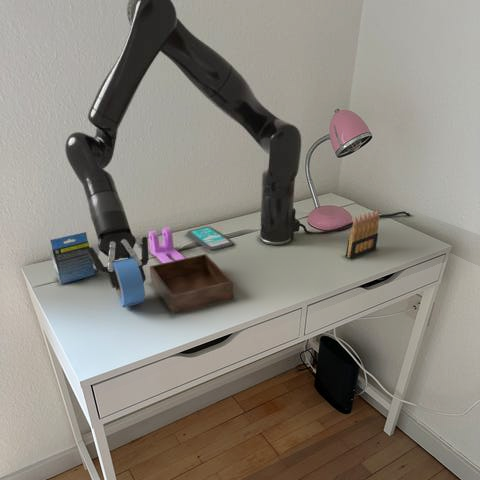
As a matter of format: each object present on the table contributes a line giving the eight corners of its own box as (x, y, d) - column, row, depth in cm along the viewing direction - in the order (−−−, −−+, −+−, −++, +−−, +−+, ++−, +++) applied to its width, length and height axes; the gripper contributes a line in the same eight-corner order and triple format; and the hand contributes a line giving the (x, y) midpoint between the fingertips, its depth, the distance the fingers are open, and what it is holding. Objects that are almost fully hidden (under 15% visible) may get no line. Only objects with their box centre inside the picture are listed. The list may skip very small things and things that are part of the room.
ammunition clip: (350, 259, 128) (356, 218, 121) (345, 256, 129) (351, 216, 122) (375, 249, 133) (383, 209, 126) (370, 247, 134) (378, 207, 128)
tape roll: (134, 288, 112) (129, 250, 106) (147, 308, 105) (142, 269, 99) (115, 293, 110) (108, 254, 104) (126, 314, 103) (119, 274, 97)
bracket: (150, 252, 131) (147, 229, 127) (168, 247, 134) (166, 225, 130) (170, 271, 122) (168, 247, 118) (189, 265, 125) (187, 242, 121)
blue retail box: (91, 269, 123) (82, 226, 116) (95, 275, 120) (86, 231, 113) (57, 278, 119) (45, 234, 112) (61, 285, 116) (49, 240, 109)
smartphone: (210, 249, 130) (185, 231, 141) (210, 252, 131) (185, 234, 141) (235, 242, 134) (209, 225, 144) (235, 245, 135) (209, 228, 145)
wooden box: (206, 270, 123) (205, 253, 120) (233, 299, 111) (233, 281, 108) (151, 283, 117) (149, 266, 114) (173, 315, 105) (171, 297, 102)
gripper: (76, 214, 99) (98, 288, 97) (141, 204, 104) (163, 274, 102) (76, 228, 106) (97, 298, 104) (137, 218, 111) (158, 283, 109)
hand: (130, 285), depth 103 cm, fingers closed on tape roll, 5 cm apart
